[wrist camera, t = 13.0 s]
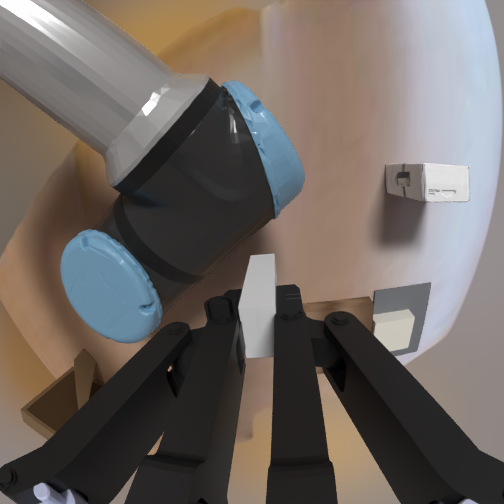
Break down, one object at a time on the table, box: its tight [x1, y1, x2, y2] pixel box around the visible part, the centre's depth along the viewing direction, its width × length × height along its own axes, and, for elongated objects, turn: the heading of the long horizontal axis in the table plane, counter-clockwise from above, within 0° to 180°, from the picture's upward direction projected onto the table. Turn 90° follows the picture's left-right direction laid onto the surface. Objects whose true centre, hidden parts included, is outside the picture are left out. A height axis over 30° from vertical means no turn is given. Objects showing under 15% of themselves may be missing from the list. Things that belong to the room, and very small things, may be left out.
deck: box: [302, 296, 374, 374], centre depth 45 cm, size 16×14×3 cm
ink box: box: [386, 163, 470, 202], centre depth 31 cm, size 9×5×12 cm, turn 96°
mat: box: [373, 282, 431, 356], centre depth 45 cm, size 12×16×1 cm
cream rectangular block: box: [371, 309, 415, 351], centre depth 43 cm, size 8×7×3 cm
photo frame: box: [21, 349, 104, 440], centre depth 44 cm, size 15×22×25 cm
